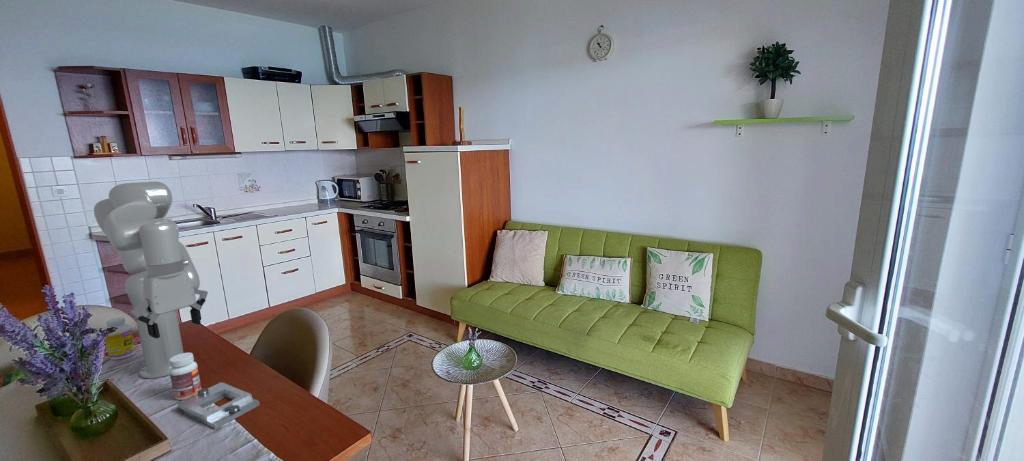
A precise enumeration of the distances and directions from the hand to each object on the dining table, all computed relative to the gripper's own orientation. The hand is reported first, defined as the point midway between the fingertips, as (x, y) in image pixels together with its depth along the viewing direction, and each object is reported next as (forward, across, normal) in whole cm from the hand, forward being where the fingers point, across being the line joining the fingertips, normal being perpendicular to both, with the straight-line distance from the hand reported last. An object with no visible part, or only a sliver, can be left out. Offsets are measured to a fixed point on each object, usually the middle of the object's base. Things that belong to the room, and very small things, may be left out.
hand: (176, 330), depth 115 cm
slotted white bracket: (+19, 0, +15) cm, 24 cm away
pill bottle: (+19, 0, 0) cm, 19 cm away
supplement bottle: (+19, -3, -47) cm, 51 cm away
